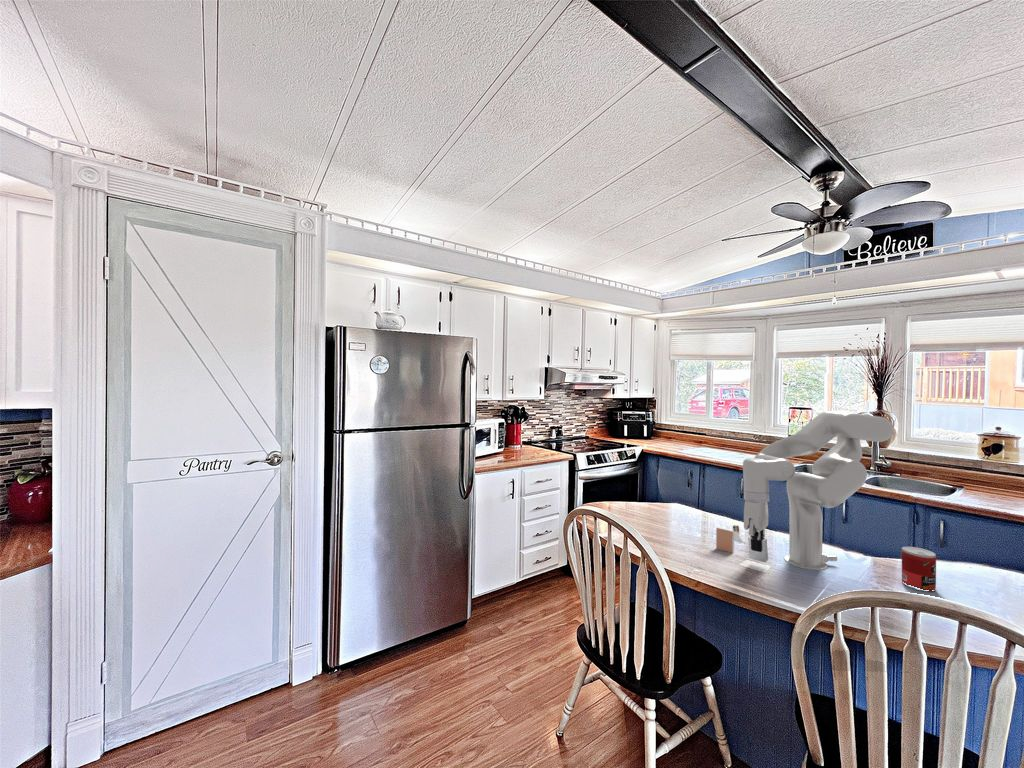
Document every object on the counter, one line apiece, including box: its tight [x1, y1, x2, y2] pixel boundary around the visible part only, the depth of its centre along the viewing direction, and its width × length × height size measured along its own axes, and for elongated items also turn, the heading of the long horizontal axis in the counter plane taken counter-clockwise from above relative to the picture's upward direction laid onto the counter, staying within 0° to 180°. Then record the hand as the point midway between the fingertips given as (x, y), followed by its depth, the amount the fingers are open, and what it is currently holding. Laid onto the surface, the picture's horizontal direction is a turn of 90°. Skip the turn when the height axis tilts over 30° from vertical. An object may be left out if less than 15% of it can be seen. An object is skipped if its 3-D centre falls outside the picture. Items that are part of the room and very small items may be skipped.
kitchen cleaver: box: [732, 524, 746, 545], centre depth 184 cm, size 24×1×10 cm
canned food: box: [901, 546, 937, 591], centre depth 137 cm, size 8×8×11 cm
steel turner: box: [747, 529, 769, 563], centre depth 150 cm, size 2×5×10 cm, turn 42°
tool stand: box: [738, 559, 772, 573], centre depth 150 cm, size 7×8×1 cm
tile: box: [715, 526, 735, 554], centre depth 164 cm, size 1×6×8 cm, turn 42°
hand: (758, 549), depth 150 cm, fingers closed on steel turner, 2 cm apart
